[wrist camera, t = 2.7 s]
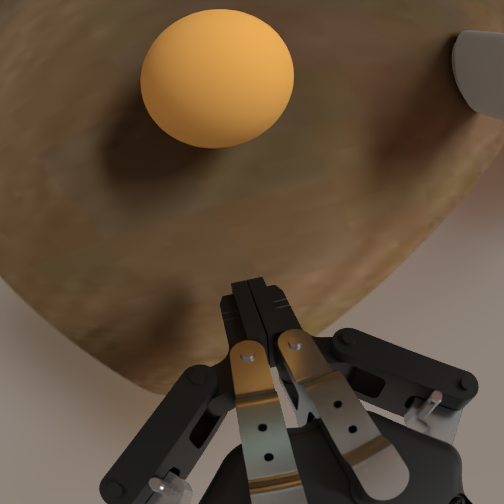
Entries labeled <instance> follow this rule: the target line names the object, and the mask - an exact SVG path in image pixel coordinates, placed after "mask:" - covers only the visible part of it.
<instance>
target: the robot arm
mask: <svg viewBox="0 0 504 504" xmlns="http://www.w3.org/2000/svg"><path fill="white" fill-rule="evenodd" d="M231 287H232V293H233V294H231V295H226V296H223V297H222V299H221V302H220V308H221V312H222V317H223V321H224V326H225V330H226V334H227V339H228V343H229V352H228V354H227V356H226V358H225V359H224V360H223V361H221V362H220V363H218V364H216V365H214V366H212V367H209V366H206V365H194V366H191V367H189V368H187V369H186V370H185V371H184V372H183V374H182V375H181V376H180V378H179V379H178V380H177V382H176V383H175V384H174V386H173V387H172V388H171V390H170V391H169V392H168V394H167V395H166V397H165V398H164V400H163V401H162V402H161V403H160V405H159V406H158V407H157V409H156V410H155V411H154V413H153V414H152V415H151V417H150V418H149V419H148V421H147V422H146V423H145V424H144V426H143V427H142V428H141V430H140V431H139V432H138V434H137V435H136V436H135V438H134V439H133V440H132V442H131V443H130V444H129V446H128V447H127V448H126V449H125V451H124V452H123V453H122V455H121V456H120V457H119V458H118V460H117V461H116V462H115V464H114V465H113V466H112V468H111V469H110V470H109V471H108V473H107V474H106V475H105V476H104V478H103V479H102V481H101V483H100V486H99V487H100V488H99V490H100V494H101V496H102V498H103V500H104V501H105V502H106V503H107V504H190V501H191V498H192V495H193V492H192V488H191V486H190V484H189V483H188V482H187V481H185V479H186V478H187V476H188V475H189V473H190V472H191V470H192V469H193V467H194V466H195V464H196V463H197V461H198V460H199V458H200V457H201V455H202V454H203V452H204V450H205V449H206V447H207V446H208V444H209V442H210V441H211V439H212V438H213V436H214V434H215V433H216V431H217V430H218V428H219V426H220V425H221V423H222V421H223V420H224V418H225V416H226V415H227V412H228V411H230V410H232V409H234V408H235V407H236V411H237V417H238V424H239V430H240V436H241V441H242V444H240V445H239V446H237V447H236V448H234V449H233V450H232V451H231V452H230V453H229V454H228V455H227V456H226V457H225V459H224V460H223V462H222V464H221V466H220V467H219V469H218V471H217V473H216V474H215V476H214V478H213V480H212V482H211V483H210V485H209V487H208V488H207V490H206V492H205V494H204V495H203V497H202V499H201V500H200V502H199V504H472V503H471V502H470V501H469V500H468V498H467V497H466V496H465V494H464V491H463V485H462V461H461V457H460V455H459V453H458V451H457V450H456V449H455V448H454V447H453V446H452V444H453V441H454V438H455V435H456V432H457V428H458V425H459V421H460V418H461V413H462V410H463V408H464V407H465V406H466V405H467V404H468V403H469V402H470V401H471V400H472V398H473V397H475V395H476V394H477V392H478V381H477V380H476V378H475V376H474V375H473V374H471V373H469V372H467V371H465V370H462V369H459V368H456V367H453V366H450V365H448V364H445V363H442V362H439V361H437V360H434V359H431V358H429V357H426V356H423V355H420V354H418V353H415V352H412V351H410V350H407V349H405V348H402V347H399V346H397V345H394V344H392V343H389V342H386V341H384V340H381V339H379V338H376V337H374V336H371V335H369V334H366V333H364V332H361V331H359V330H356V329H353V328H343V329H340V330H338V331H337V332H336V333H335V334H334V336H333V337H314V336H311V335H309V334H308V333H307V332H306V331H303V329H302V328H301V326H300V324H299V322H298V320H297V318H296V316H295V314H294V312H293V310H292V308H291V306H290V304H289V302H288V300H287V299H286V296H285V294H284V292H283V291H282V290H281V289H280V288H279V287H277V286H276V285H272V286H266V284H265V282H264V280H263V278H262V277H259V278H254V279H249V280H247V281H246V280H245V281H240V282H235V283H231ZM269 365H270V367H275V366H276V367H277V370H278V373H279V381H280V383H281V385H282V388H283V390H284V392H285V394H286V396H287V398H288V400H289V402H290V404H291V406H292V408H293V410H294V413H295V415H296V419H297V423H298V426H299V427H298V428H286V425H285V421H284V417H283V413H282V409H281V405H280V402H279V398H278V395H277V392H276V391H275V388H274V384H273V381H272V376H271V372H270V369H269ZM359 399H361V400H363V401H365V402H368V403H370V404H372V405H375V406H377V407H380V408H382V409H384V410H387V411H389V412H392V413H394V414H397V415H400V416H402V417H404V421H405V424H406V426H404V425H401V424H399V423H396V422H394V421H392V420H390V419H388V418H385V417H383V416H381V415H379V414H376V413H374V412H371V411H366V410H365V408H364V407H363V405H362V403H361V402H360V400H359Z"/></svg>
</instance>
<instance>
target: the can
mask: <svg viewBox="0 0 504 504" xmlns="http://www.w3.org/2000/svg"><path fill="white" fill-rule="evenodd" d="M452 69H453V74H454V78H455V81H456V84H457V86H458V88H459V91H460V92H461V94H462V95H463V97H464V99H465V100H466V102H467V103H468V105H469V106H470V107H471V108H472V109H473V110H474V111H475V112H477V113H481V114H484V115H487V116H490V117H493V118H496V119H499V120H502V121H504V33H496V32H486V31H471V30H469V31H463V32H462V33H461V34H459V35H458V38H457V41H456V42H455V44H454V47H453V50H452Z"/></svg>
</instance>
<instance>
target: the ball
mask: <svg viewBox="0 0 504 504" xmlns="http://www.w3.org/2000/svg"><path fill="white" fill-rule="evenodd" d="M293 82H294V70H293V63H292V59H291V56H290V53H289V51H288V49H287V47H286V45H285V43H284V42H283V40H282V39H281V37H280V36H279V35H278V34H277V33H276V32H275V31H274V30H273V29H272V28H271V27H270V26H269V25H267V24H266V23H264V22H263V21H262V20H260V19H258V18H256V17H254V16H252V15H249V14H246V13H243V12H239V11H235V10H226V9H215V10H206V11H201V12H197V13H194V14H191V15H188V16H186V17H184V18H182V19H180V20H178V21H176V22H175V23H173V24H172V25H170V26H169V27H168V28H166V29H165V30H164V31H163V32H162V33H161V34H160V35H159V36H158V37H157V39H156V40H155V41H154V43H153V44H152V46H151V47H150V49H149V51H148V53H147V55H146V57H145V60H144V62H143V66H142V71H141V80H140V83H141V93H142V98H143V101H144V104H145V106H146V109H147V111H148V112H149V114H150V116H151V117H152V119H153V120H154V121H155V123H156V124H157V125H158V126H159V127H160V128H161V129H162V130H163V131H165V132H166V133H167V134H169V135H170V136H172V137H173V138H175V139H177V140H179V141H181V142H184V143H186V144H189V145H193V146H196V147H203V148H225V147H231V146H236V145H239V144H242V143H245V142H247V141H250V140H252V139H254V138H256V137H257V136H259V135H261V134H262V133H263V132H265V131H266V130H267V129H269V128H270V127H271V126H272V125H273V124H274V123H275V122H276V121H277V119H278V118H279V117H280V115H281V114H282V113H283V111H284V109H285V107H286V106H287V104H288V101H289V99H290V96H291V93H292V89H293Z"/></svg>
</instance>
